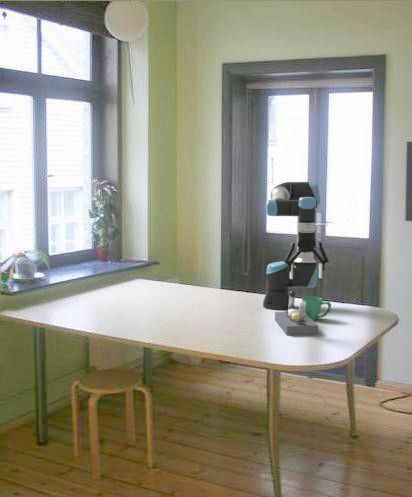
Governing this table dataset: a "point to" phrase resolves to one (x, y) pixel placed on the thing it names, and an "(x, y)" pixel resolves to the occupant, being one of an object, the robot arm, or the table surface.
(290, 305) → the lever
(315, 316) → the mug
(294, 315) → the button mustard
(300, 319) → the lever
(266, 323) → the table surface
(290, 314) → the button ivory
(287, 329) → the panel
